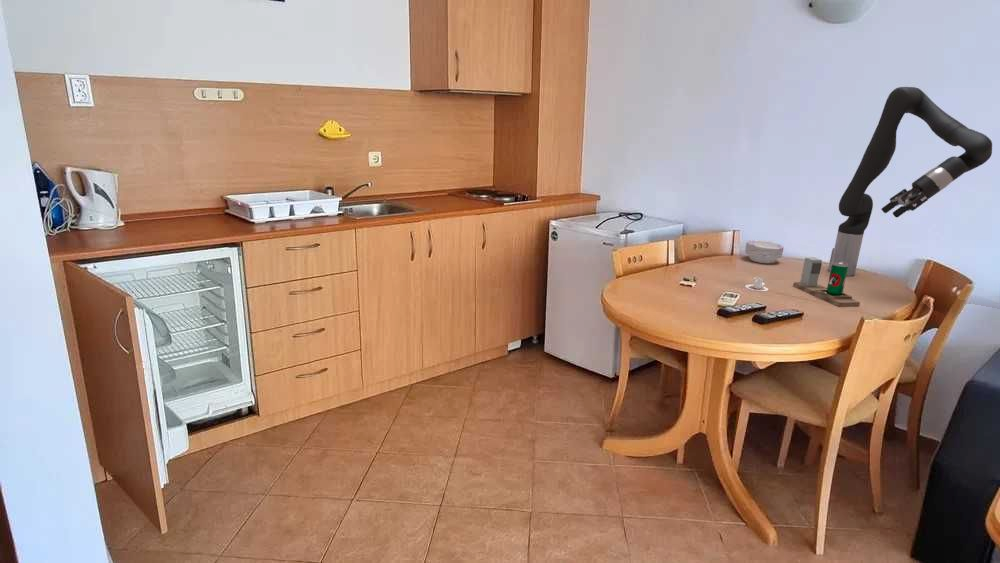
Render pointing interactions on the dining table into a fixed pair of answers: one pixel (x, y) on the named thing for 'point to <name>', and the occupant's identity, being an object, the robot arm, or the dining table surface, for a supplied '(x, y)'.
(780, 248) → the paper bowls
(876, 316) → the dining table surface
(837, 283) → the soda can
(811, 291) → the brown flat tray
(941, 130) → the robot arm
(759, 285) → the teacup and saucer
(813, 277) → the grey post
